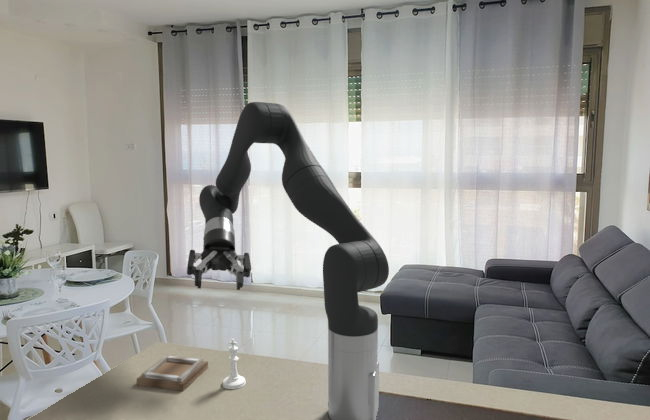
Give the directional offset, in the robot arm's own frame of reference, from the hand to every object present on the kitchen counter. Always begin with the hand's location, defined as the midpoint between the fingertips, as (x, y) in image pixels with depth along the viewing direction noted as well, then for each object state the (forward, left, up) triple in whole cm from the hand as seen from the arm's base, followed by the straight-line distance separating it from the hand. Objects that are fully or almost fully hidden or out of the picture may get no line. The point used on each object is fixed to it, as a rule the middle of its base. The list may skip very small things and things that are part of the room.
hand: (219, 286), depth 106 cm
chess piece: (-5, +4, -20) cm, 21 cm away
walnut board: (+10, +4, -20) cm, 23 cm away
